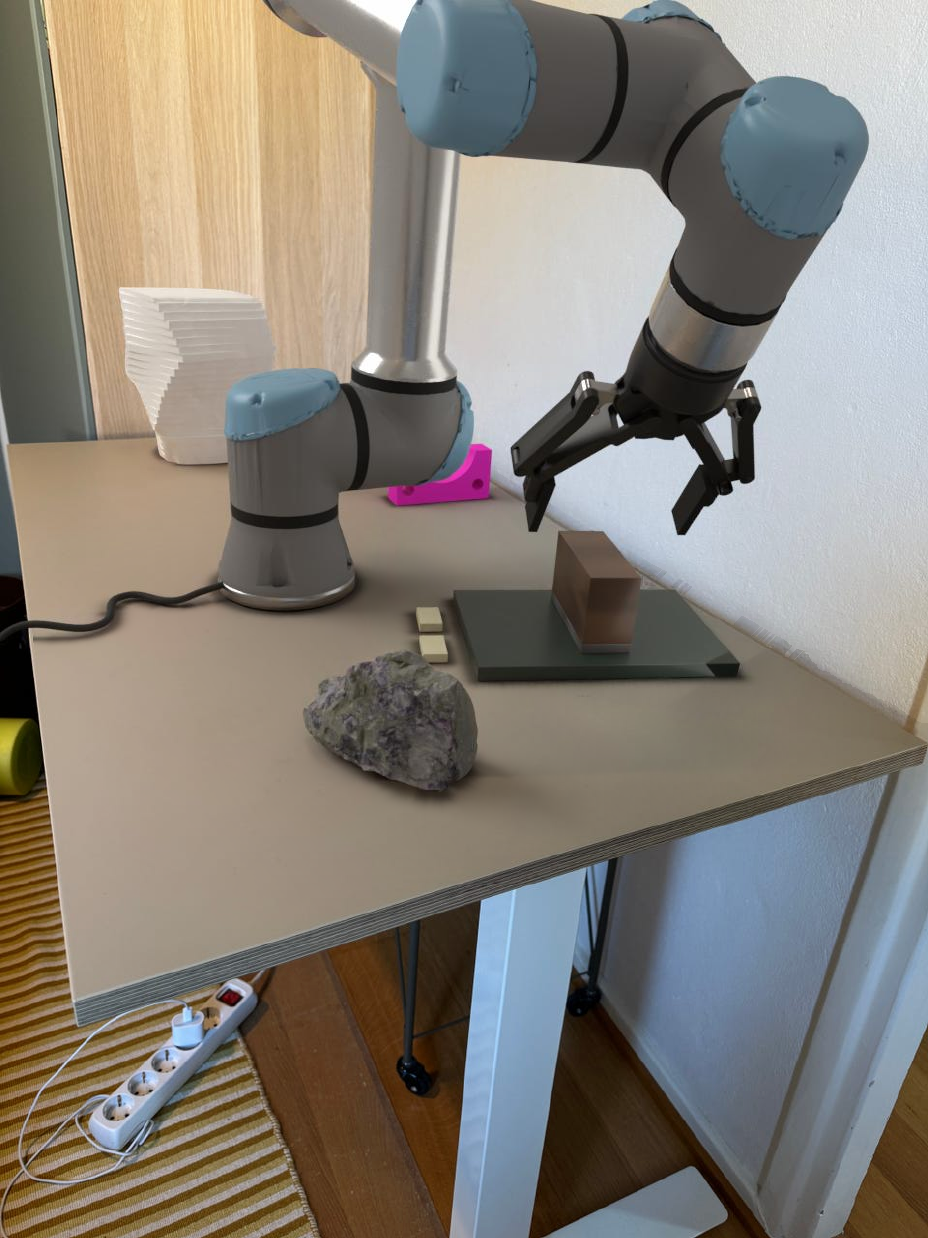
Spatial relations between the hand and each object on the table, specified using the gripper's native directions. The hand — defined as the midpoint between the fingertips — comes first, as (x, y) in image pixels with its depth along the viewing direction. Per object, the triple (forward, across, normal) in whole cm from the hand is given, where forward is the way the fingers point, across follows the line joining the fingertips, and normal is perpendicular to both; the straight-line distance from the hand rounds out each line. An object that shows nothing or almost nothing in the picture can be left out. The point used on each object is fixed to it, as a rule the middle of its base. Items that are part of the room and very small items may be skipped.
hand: (605, 521), depth 77 cm
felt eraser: (+16, -3, +1) cm, 17 cm away
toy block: (+46, +7, -37) cm, 60 cm away
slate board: (+18, -3, +2) cm, 18 cm away
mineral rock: (+7, +19, +19) cm, 28 cm away
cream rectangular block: (+19, +13, -2) cm, 24 cm away
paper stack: (+59, +40, -54) cm, 89 cm away
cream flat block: (+16, +14, +4) cm, 21 cm away
